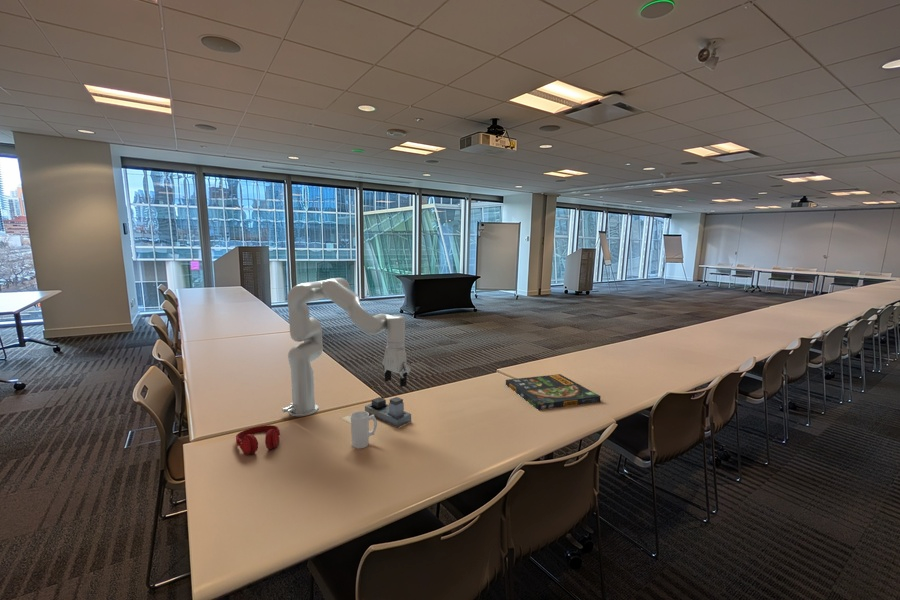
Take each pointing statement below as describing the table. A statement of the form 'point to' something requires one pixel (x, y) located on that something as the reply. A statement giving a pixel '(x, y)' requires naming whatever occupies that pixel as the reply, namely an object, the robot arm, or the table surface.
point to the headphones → (250, 441)
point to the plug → (396, 407)
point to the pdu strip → (386, 413)
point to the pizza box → (552, 391)
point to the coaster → (347, 419)
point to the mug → (361, 428)
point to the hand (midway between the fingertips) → (395, 383)
